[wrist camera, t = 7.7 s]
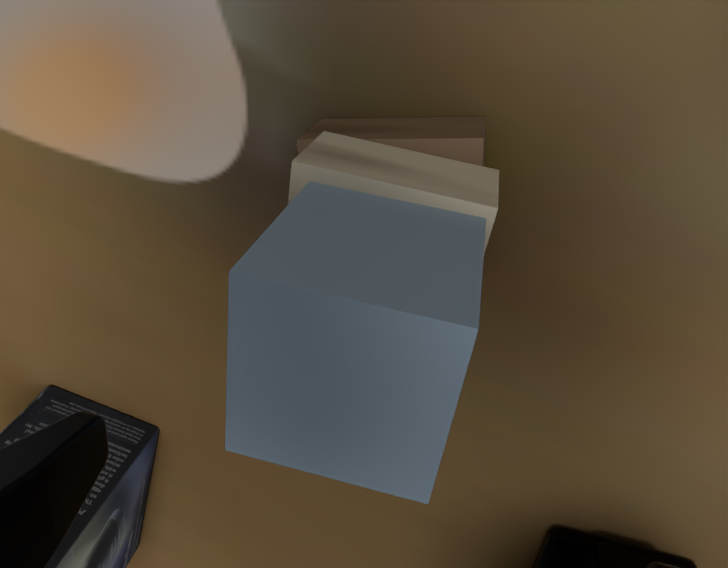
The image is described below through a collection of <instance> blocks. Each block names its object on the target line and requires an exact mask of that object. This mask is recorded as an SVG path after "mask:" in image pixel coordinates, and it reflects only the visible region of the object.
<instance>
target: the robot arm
mask: <svg viewBox="0 0 728 568" xmlns="http://www.w3.org/2000/svg"><path fill="white" fill-rule="evenodd" d="M108 453H109V447H108V439H107V432H106V424H105V420H104V418H103V417H102V416H100V415H97V414H93V413H89V412H85V411H79V412H75V413H73V414H71V415H69V416H67V417H65V418H63V419H61V420H59V421H56V422H54V423H52V424H50V425H48V426H46V427H44V428H42V429H40V430H38V431H36V432H34V433H32V434H30V435H28V436H26V437H24V438H21V439H19V440H17V441H15V442H13V443H11V444H9V445H7V446H5V447H3V448H1V449H0V568H44V567H45V566H46V564H47V563H48V562H49V560H50V559H51V557H52V556H53V554H54V553H55V551H56V550H57V548H58V547H59V545H60V543H61V542H62V540H63V538H64V537H65V535H66V533H67V531H68V530H69V528H70V526H71V524H72V523H73V521H74V519H75V517H76V515H77V514H78V512H79V510H80V508H81V506H82V505H83V503H84V501H85V499H86V498H87V496H88V494H89V492H90V490H91V489H92V487H93V485H94V483H95V482H96V480H97V478H98V476H99V474H100V473H101V471H102V469H103V467H104V465H105V463H106V461H107V458H108ZM559 539H561V540H559ZM532 568H697V566H696V565H694V564H693V563H690V562H687V561H683V560H679V559H676V558H672V557H668V556H664V555H661V554H657V553H653V552H649V551H645V550H642V549H638V548H634V547H630V546H627V545H623V544H619V543H615V542H611V541H608V540H604V539H600V538H596V537H593V536H589V535H585V534H581V533H577V532H574V531H570V530H566V529H562V528H554V529H552V530H550V531H549V532H548V534H547V536H546V539H545V541H544V543H543V545H542V547H541V550H540V552H539V554H538V556H537V558H536V561H535V563H534V565H533V567H532Z"/></svg>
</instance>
